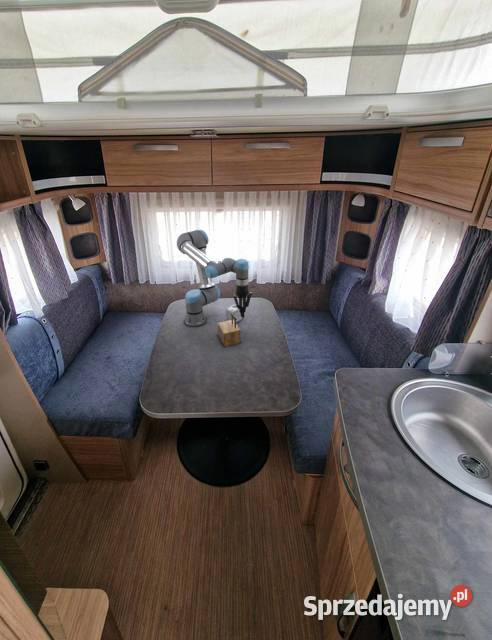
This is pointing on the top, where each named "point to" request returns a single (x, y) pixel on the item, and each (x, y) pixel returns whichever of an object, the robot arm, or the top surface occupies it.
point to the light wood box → (229, 332)
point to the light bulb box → (235, 311)
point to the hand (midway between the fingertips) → (242, 316)
